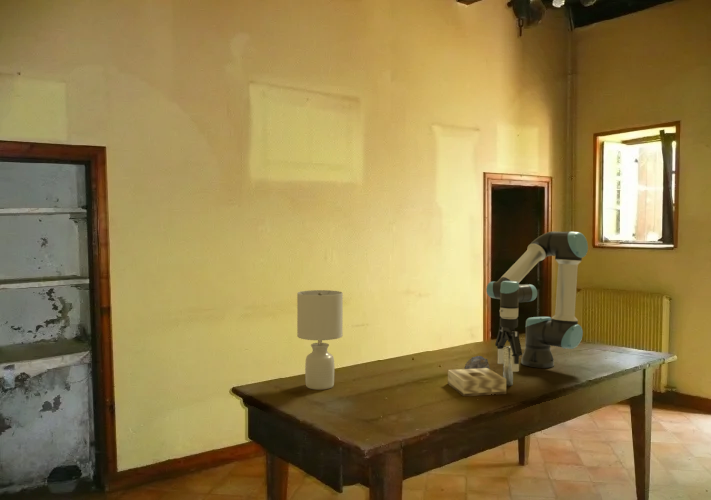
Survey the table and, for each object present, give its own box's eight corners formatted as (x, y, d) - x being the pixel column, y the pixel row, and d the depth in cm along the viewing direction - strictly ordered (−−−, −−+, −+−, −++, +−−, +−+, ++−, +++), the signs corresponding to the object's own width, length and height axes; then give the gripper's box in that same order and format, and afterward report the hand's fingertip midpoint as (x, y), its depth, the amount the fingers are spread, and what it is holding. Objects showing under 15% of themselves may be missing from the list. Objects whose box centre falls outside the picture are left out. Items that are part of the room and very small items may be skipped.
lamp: (307, 395, 227) (307, 296, 226) (290, 383, 244) (290, 291, 242) (350, 389, 236) (350, 294, 234) (330, 378, 253) (330, 289, 251)
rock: (491, 366, 263) (485, 349, 260) (489, 382, 255) (483, 365, 251) (468, 369, 268) (462, 352, 264) (466, 384, 260) (459, 367, 256)
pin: (510, 382, 246) (510, 345, 246) (514, 385, 243) (514, 347, 242) (501, 383, 246) (501, 346, 245) (505, 385, 242) (506, 348, 241)
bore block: (487, 381, 248) (487, 368, 247) (506, 393, 230) (506, 379, 230) (447, 383, 244) (447, 369, 244) (463, 396, 227) (463, 381, 226)
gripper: (488, 313, 254) (487, 360, 255) (514, 322, 230) (513, 375, 231) (504, 313, 256) (503, 360, 257) (531, 322, 231) (530, 374, 232)
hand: (507, 367), depth 244 cm, fingers open, 13 cm apart
